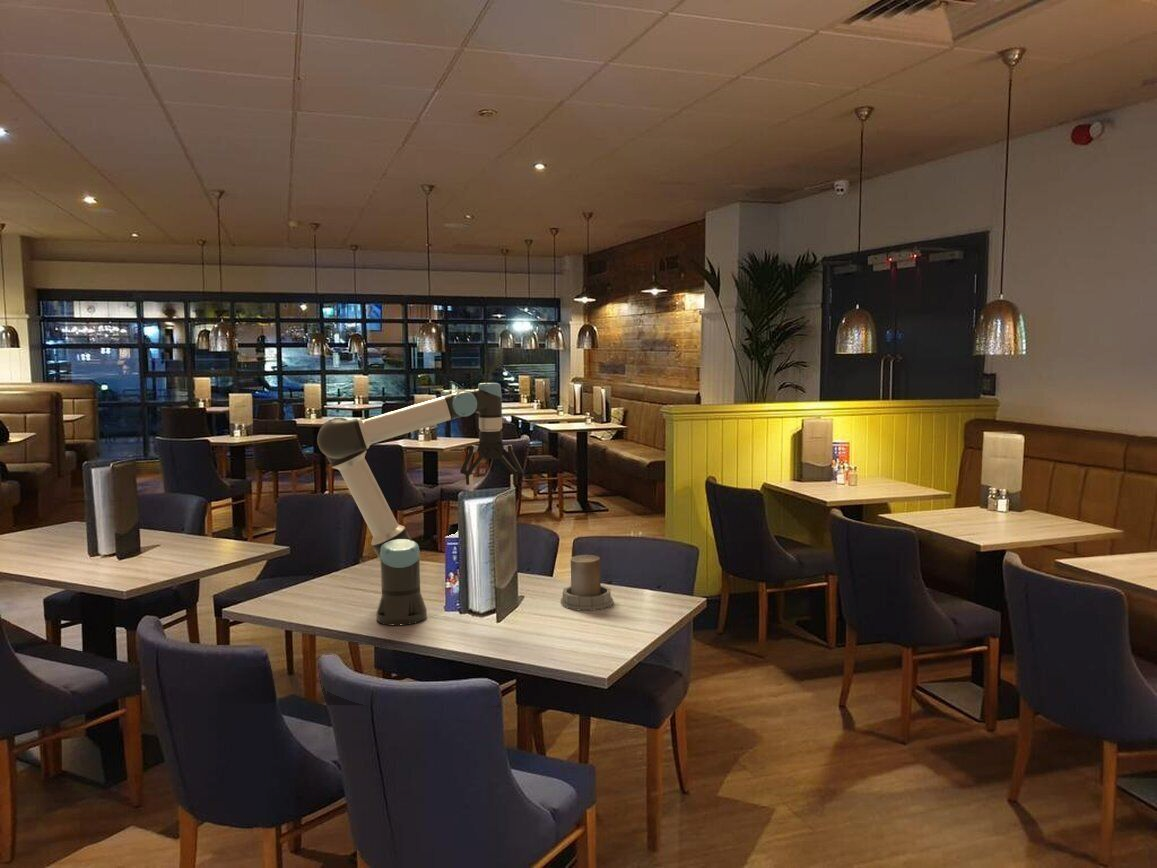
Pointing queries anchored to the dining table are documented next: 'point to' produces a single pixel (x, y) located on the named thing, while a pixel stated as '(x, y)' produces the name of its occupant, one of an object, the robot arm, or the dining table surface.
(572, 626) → the dining table surface
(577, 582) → the pillar candle
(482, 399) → the robot arm
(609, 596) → the candle dish
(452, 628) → the dining table surface
